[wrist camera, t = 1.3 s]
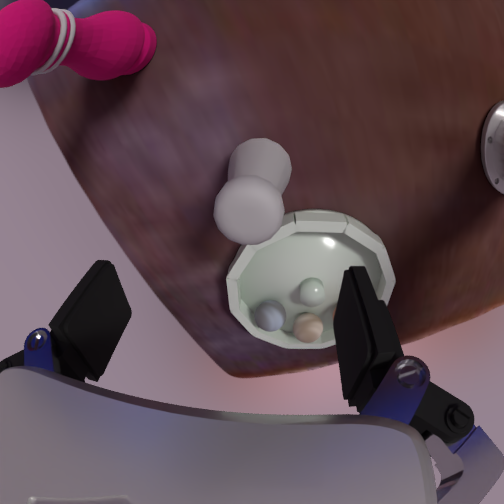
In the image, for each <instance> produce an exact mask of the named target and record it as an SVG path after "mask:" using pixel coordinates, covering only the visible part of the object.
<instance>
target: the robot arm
mask: <svg viewBox="0 0 504 504" xmlns="http://www.w3.org/2000/svg"><path fill="white" fill-rule="evenodd" d="M481 158H482V164H483V168H484V171H485V174H486V177H487V179H488V181H489V182H490V183H491V185H492V186H493V187H494V188H495V189H496V190H498V191H499V192H501V193H502V194H504V101H501V102H499V103H497V104H496V105H495V106H494V107H493V108H492V109H491V111H490V112H489V113H488V116H487V118H486V120H485V123H484V127H483V131H482V137H481ZM131 314H132V312H131V308H130V306H129V303H128V301H127V298H126V296H125V293H124V291H123V288H122V285H121V283H120V280H119V278H118V275H117V272H116V270H115V267H114V265H113V264H111V262H110V261H108V260H97V261H96V262H95V263H94V264H93V265H92V267H91V268H90V269H89V271H88V272H87V273H86V274H85V276H84V277H83V278H82V279H81V281H80V282H79V283H78V284H77V286H76V287H75V288H74V290H73V291H72V292H71V294H70V295H69V296H68V298H67V299H66V301H65V302H64V303H63V305H62V306H61V308H60V309H59V310H58V312H57V313H56V315H55V316H54V318H53V319H52V320H51V322H50V323H49V326H50V328H51V329H52V330H51V332H49V331H48V330H47V329H46V328H38V329H35V330H34V331H32V332H31V333H30V334H29V335H28V336H27V338H26V340H25V343H24V350H22V351H20V352H18V353H16V354H14V355H12V356H10V357H8V358H6V359H4V360H3V361H1V362H0V504H479V503H480V502H481V501H482V499H483V498H484V497H485V495H487V493H488V492H489V490H490V489H491V488H492V486H493V485H494V484H495V483H496V481H497V480H498V479H499V477H500V476H501V474H502V472H503V470H504V456H503V454H502V453H501V451H500V450H499V449H498V448H497V447H496V445H495V444H494V443H493V442H492V440H491V439H490V438H489V437H488V435H487V434H486V433H485V432H484V431H483V429H482V428H481V427H480V426H478V427H475V425H474V414H473V411H472V410H471V408H470V407H469V406H468V405H467V404H466V403H464V402H463V401H461V400H459V399H458V398H456V397H454V396H453V395H451V394H450V393H448V392H447V391H445V390H443V389H442V388H440V387H438V386H437V385H435V384H434V383H432V382H430V371H429V369H428V367H427V365H426V364H425V363H424V362H423V361H422V360H420V359H419V358H417V357H414V356H404V354H403V351H402V348H401V345H400V342H399V339H398V336H397V333H396V330H395V327H394V324H393V322H392V319H391V316H390V313H389V311H388V308H387V306H386V303H385V301H383V300H378V298H377V295H376V293H375V290H374V287H373V285H372V282H371V280H370V277H369V275H368V272H367V270H366V267H365V266H350V267H349V270H345V271H344V274H343V279H342V284H341V288H340V293H339V298H338V302H337V306H336V311H335V315H334V319H333V329H334V335H335V342H336V348H337V355H338V361H339V368H340V375H341V383H342V391H343V397H344V400H347V399H348V403H349V407H350V406H356V407H357V412H359V413H360V414H359V415H350V414H348V415H347V414H346V415H344V414H343V415H269V414H249V413H236V412H225V411H215V410H207V409H199V408H192V407H186V406H179V405H174V404H168V403H163V402H158V401H153V400H148V399H143V398H139V397H135V396H130V395H126V394H122V393H119V392H114V391H111V390H107V389H104V388H100V387H97V386H94V385H91V384H88V383H85V380H84V379H85V377H87V378H88V379H89V380H93V381H96V382H98V380H99V378H100V376H102V375H103V374H104V371H105V369H106V367H107V365H108V363H109V361H110V359H111V356H112V354H113V352H114V350H115V348H116V346H117V344H118V342H119V340H120V338H121V336H122V333H123V332H124V330H125V328H126V326H127V324H128V322H129V320H130V318H131ZM430 457H432V458H433V459H434V461H435V462H436V464H435V466H436V467H437V468H438V470H439V472H440V474H441V482H440V485H439V487H438V488H437V489H436V484H435V477H434V471H433V466H432V462H431V458H430Z"/></svg>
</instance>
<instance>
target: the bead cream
mask: <svg viewBox="0 0 504 504" xmlns="http://www.w3.org/2000/svg"><path fill="white" fill-rule="evenodd" d="M322 332H323V323H322V321H321V319H320V318H319V317H318V316H317V315H315V314H313V313H304V314H301V315H300V316H298V317H297V318H296V320H295V321H294V324H293V333H294V335H295V337H296V338H297V339H298V340H299V341H301V342H304V343H311V342H314V341H316V340H317V339H318V338H319V337H320V336H321V334H322Z"/></svg>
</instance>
